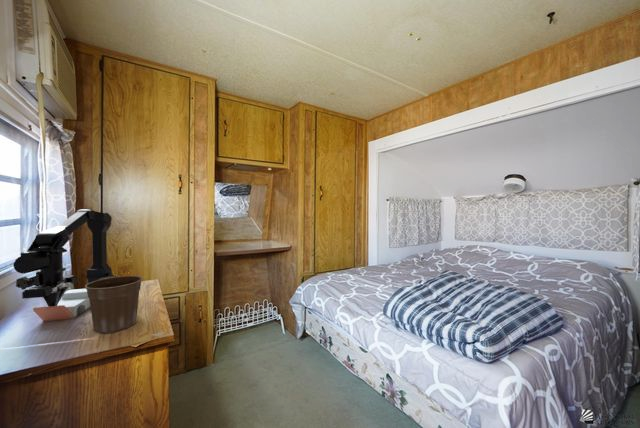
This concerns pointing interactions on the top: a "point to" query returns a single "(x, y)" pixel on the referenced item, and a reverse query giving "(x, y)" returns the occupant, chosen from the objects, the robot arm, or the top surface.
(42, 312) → the tailgate
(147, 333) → the top surface
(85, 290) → the white stepped block
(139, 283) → the plant pot
